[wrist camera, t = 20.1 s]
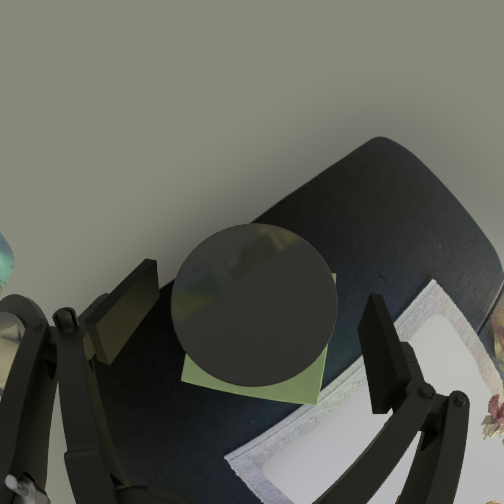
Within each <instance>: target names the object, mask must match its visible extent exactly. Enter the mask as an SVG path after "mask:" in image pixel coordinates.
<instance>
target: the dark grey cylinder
mask: <svg viewBox="0 0 504 504" xmlns="http://www.w3.org/2000/svg"><path fill="white" fill-rule="evenodd" d="M337 312H338V298H337V290H336V286H335V282H334V279H333V276H332V273H331V271H330V269H329V267H328V266H327V264H326V262H325V261H324V259H323V258H322V256H321V255H320V254H319V253H318V252H317V250H316V249H315V248H314V247H313V246H312V245H310V244H309V243H308V242H307V241H306V240H304V239H303V238H301V237H300V236H298V235H297V234H295V233H293V232H291V231H288V230H286V229H283V228H280V227H277V226H272V225H268V224H243V225H237V226H234V227H230V228H226V229H224V230H222V231H220V232H217V233H215V234H213V235H212V236H210V237H208V238H207V239H206V240H204V241H203V242H201V243H200V244H199V245H198V246H197V247H196V248H195V249H194V250H193V251H192V252H191V253H190V254H189V256H188V257H187V258H186V260H185V261H184V263H183V264H182V266H181V268H180V270H179V272H178V274H177V276H176V279H175V282H174V286H173V290H172V296H171V316H172V322H173V326H174V330H175V333H176V335H177V338H178V340H179V342H180V344H181V346H182V348H183V349H184V351H185V352H186V353H187V355H188V356H189V357H190V359H191V360H192V361H193V362H194V363H195V364H196V365H197V366H198V367H200V368H201V369H202V370H203V371H205V372H206V373H208V374H209V375H211V376H213V377H214V378H216V379H219V380H221V381H223V382H226V383H229V384H233V385H237V386H244V387H264V386H270V385H275V384H278V383H281V382H284V381H287V380H289V379H291V378H293V377H295V376H297V375H298V374H300V373H301V372H303V371H304V370H306V369H307V368H308V367H309V366H310V365H312V364H313V363H314V362H315V360H316V359H317V358H318V357H319V356H320V355H321V353H322V352H323V351H324V349H325V348H326V346H327V344H328V342H329V340H330V338H331V336H332V334H333V331H334V328H335V324H336V319H337Z"/></svg>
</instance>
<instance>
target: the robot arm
mask: <svg viewBox="0 0 504 504" xmlns="http://www.w3.org/2000/svg"><path fill="white" fill-rule="evenodd" d="M13 267H14V255H13V252H12V250H11V248H10V246H9V244H8V242H7V241H6V239H5V238H4V237H3V235H2V234H1V233H0V294H1V292H2V290H3V288H4V287H6V282H7V280H8V277H9V275H10V273H11V271H12V269H13ZM157 274H158V273H157V261H156V260H151V259H145V260H144V261H143V262H142V263H141V264H140V265H139V266H138V267H137V268H135V269H134V270H133V271H132V272H131V273H130V274H129V275H128V276H127V277H126V278H125V279H124V280H123V281H122V282H121V283H120V284H119V285H118V286H117V287H116V288H115V289H114V290H113V291H112V292H111V293H110V294H108V293H105V294H103V295H101V296H99V297H98V298H97V299H96V300H95V301H94V302H93V303H92V304H91V305H90V306H89V307H88V308H87V309H86V310H85V311H84V312H83V313H82V314H81V315H80V316H79V317H78V318H77V316H76V313H75V310H74V309H73V308H69V307H65V308H61V309H59V310H57V311H56V312H55V313H54V314H53V317H52V318H53V321H54V323H55V326H56V327H53V326H48V323H47V321H46V319H44V318H35V319H33V320H32V321H30V322H29V324H28V325H26V323H25V322H24V321H23V319H22V318H21V317H19V316H18V315H16V314H13V313H9V312H1V313H0V388H1V389H3V394H2V397H1V401H0V504H51V502H50V500H49V498H48V496H47V494H46V492H45V490H44V489H45V485H46V479H47V464H48V447H49V436H50V427H51V419H52V412H53V405H54V399H55V393H56V388H57V382H58V383H59V395H60V405H61V412H62V420H63V427H64V433H65V439H66V444H67V452H66V453H65V454H64V460H65V465H66V469H67V473H68V477H69V481H70V485H71V488H72V492H73V495H74V498H75V501H76V504H197V503H195V502H193V501H191V500H189V499H187V498H186V497H184V496H182V495H180V494H178V493H176V492H175V491H172V490H169V489H166V488H163V487H160V486H157V485H154V484H152V483H149V482H148V485H147V486H130V484H129V482H128V480H127V478H126V476H125V475H124V473H123V471H122V469H121V466H120V464H119V461H118V458H117V455H116V452H115V449H114V446H113V443H112V440H111V436H110V433H109V429H108V426H107V422H106V419H105V415H104V411H103V407H102V403H101V398H100V394H99V389H98V384H97V379H96V374H95V369H94V363H93V360H92V357H93V355H94V354H96V356H97V359H98V361H100V362H103V363H105V364H108V365H110V364H111V363H112V361H113V360H114V358H115V357H116V356H117V354H118V353H119V351H120V350H121V349H122V347H123V346H124V344H125V343H126V342H127V340H128V339H129V337H130V336H131V335H132V333H133V332H134V331H135V329H136V328H137V327H138V325H139V324H140V322H141V321H142V320H143V318H144V317H145V316H146V314H147V313H148V312H149V310H150V309H151V308H152V306H153V305H154V304H155V302H156V301H157V300H158V299H159V297H160V294H159V285H158V275H157ZM357 330H358V334H359V339H360V344H361V349H362V354H363V359H364V364H365V369H366V375H367V380H368V386H369V392H370V399H371V405H372V412H373V414H387V413H388V411H389V410H390V409H391V408H392V410H393V414H392V416H391V417H390V418H389V419H388V421H387V422H386V423H385V424H384V426H383V428H382V429H381V430H380V432H379V433H378V434H377V435H376V437H375V438H374V439H373V440H372V442H371V443H370V444H369V445H368V447H367V448H366V449H365V450H364V451H363V453H362V454H361V455H360V456H359V457H358V458H357V459H356V461H355V462H354V463H353V464H352V465H351V466H350V467H349V468H348V469H347V470H346V471H345V472H344V473H343V474H342V475H341V477H340V478H339V479H338V480H337V481H336V482H335V483H334V484H333V485H332V486H331V487H330V488H328V489H327V491H325V492H324V493H323V494H322V495H321V496H320V497H319V498H318V499H317V500H316V501H314V502H313V503H312V504H367V502H368V501H369V500H370V499H371V498H372V496H373V495H374V494H375V493H376V492H377V490H378V489H379V488H380V487H381V485H382V484H383V483H384V481H385V480H386V479H387V477H388V476H389V475H390V473H391V472H392V470H393V469H394V468H395V466H396V465H397V464H398V462H399V461H400V459H401V458H402V456H403V455H404V453H405V452H406V450H407V448H408V447H409V445H410V444H411V442H412V441H413V439H414V437H415V436H416V434H417V432H418V431H422V432H421V436H420V440H419V443H418V446H417V450H416V453H415V456H414V460H413V463H412V466H411V468H410V471H409V475H408V477H407V480H406V483H405V485H404V488H403V490H402V492H401V495H400V497H399V500H398V502H397V504H453V502H454V498H455V494H456V491H457V487H458V482H459V478H460V474H461V469H462V464H463V458H464V452H465V446H466V439H467V431H468V420H469V408H470V403H469V399H468V397H467V395H466V394H465V393H463V392H461V391H453V392H452V393H451V394H450V395H449V396H444V395H440V394H437V393H436V391H435V389H434V388H433V386H431V385H430V384H428V383H426V382H425V380H424V378H423V375H422V372H421V369H420V366H419V364H418V361H417V358H416V357H415V356H416V355H415V353H414V350H413V348H412V347H411V346H410V344H409V343H408V342H400V340H399V338H398V335H397V332H396V330H395V327H394V324H393V322H392V319H391V317H390V314H389V311H388V309H387V306H386V304H385V302H384V299H383V297H382V295H380V294H372V293H370V296H369V299H368V301H367V304H366V307H365V310H364V313H363V315H362V318H361V321H360V323H359V326H358V328H357Z"/></svg>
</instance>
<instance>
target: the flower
mask: <svg viewBox="0 0 504 504" xmlns="http://www.w3.org/2000/svg"><path fill="white" fill-rule="evenodd" d="M491 322H492V324H493V328H494V334H495V356H496V357H497V358H498V359H499V360H501V361H502V362H503V363H504V325H502V326H499V325H498V324H496V321H495V319H494V318H493V319H491ZM499 366H500V369H501V371H503V372H504V365H502V364H500V363H499ZM503 394H504V382H503ZM498 398H499V394H497V395H494V396H492V398H491V399H490V401H489V404H488V412H489V413H490V414H491V415H492V416H486V417H485V419H484V421H483V422H482V424H481V425H484V424H486V426H485V427H484V430H483V433H484V434H486V435H485V437H484V438H483V439H484V440H485V438H486V437H487V435H488V436H489V435H490V434H491V433H492V432H493V431H494V432H493V433H492V435H491V439H493V437H494V436H495V435H496V434H497V433H498V432H499V431H500V435H499V437H501V436H502V435H503V434H504V403H502V405H501V407H500V408H499V407H498ZM502 442H503V444H504V439H503V441H502Z"/></svg>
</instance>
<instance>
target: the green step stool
mask: <svg viewBox="0 0 504 504" xmlns="http://www.w3.org/2000/svg"><path fill="white" fill-rule="evenodd" d="M332 276H333V279H334V282H335V283H336V274H335V273H332ZM327 346H328V344H327ZM327 346H326V348H325V349H324V351H323V352H322V353H321V355H320V356H319V357H318V358H317V359H316V360H315V362H314V363H313V364H312V365H310V366H309V367H308V368H307V369H306V370H304V371H303V372H301V373H300V374H298V375H297V376H295V377H293V378H291V379H289V380H287V381H284V382H281V383H278V384H275V385H270V386H264V387H244V386H237V385H233V384H229V383H226V382H223V381H221V380H219V379H216V378H214V377H213V376H211V375H209V374H208V373H206V372H205V371H203V370H202V369H201V368H200V367H198V366H197V365H196V364H195V363H194V362H193V361H192V360H191V359H190V357H189V356H188V355H187V353H186V357H185V362H184V367H183V372H182V378H181V381H184V382H188V383H192V384H196V385H200V386H204V387H208V388H212V389H217V390H221V391H226V392H231V393H236V394H241V395H246V396H252V397H258V398H264V399H270V400H277V401H284V402H292V403H301V404H310V405H317V402H318V397H319V392H320V387H321V382H322V376H323V371H324V365H325V359H326V353H327Z"/></svg>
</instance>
